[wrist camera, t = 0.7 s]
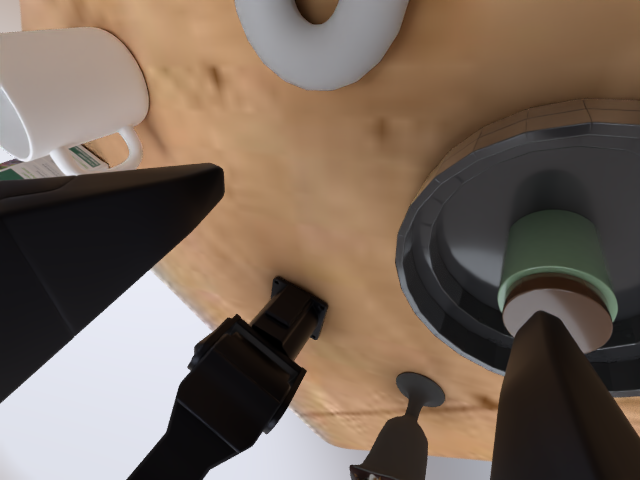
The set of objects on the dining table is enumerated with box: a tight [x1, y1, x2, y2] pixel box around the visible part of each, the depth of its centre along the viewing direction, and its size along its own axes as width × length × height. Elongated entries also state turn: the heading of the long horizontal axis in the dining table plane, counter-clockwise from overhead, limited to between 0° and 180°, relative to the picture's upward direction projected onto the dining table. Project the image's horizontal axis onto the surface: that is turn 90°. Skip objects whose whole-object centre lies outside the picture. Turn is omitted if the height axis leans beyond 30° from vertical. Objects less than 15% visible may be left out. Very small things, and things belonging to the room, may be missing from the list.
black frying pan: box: [395, 98, 640, 398], centre depth 18 cm, size 16×16×4 cm
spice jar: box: [497, 210, 618, 354], centre depth 17 cm, size 5×5×7 cm
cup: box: [0, 27, 149, 176], centre depth 27 cm, size 8×12×10 cm
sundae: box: [350, 373, 445, 480], centre depth 28 cm, size 7×7×15 cm
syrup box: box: [0, 145, 109, 180], centre depth 36 cm, size 6×6×14 cm
